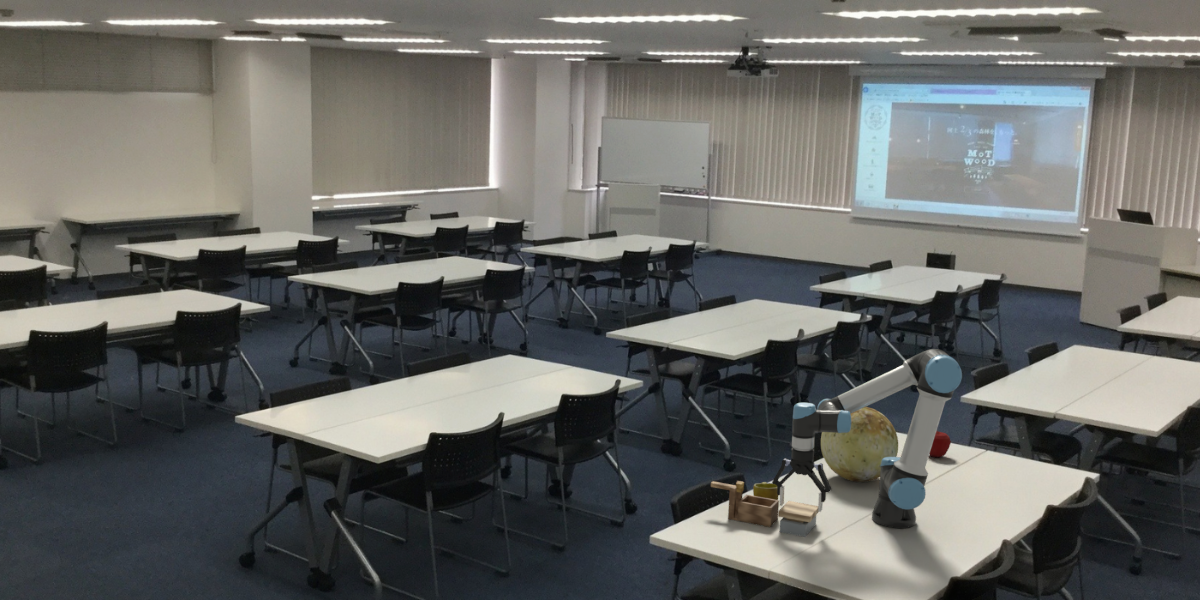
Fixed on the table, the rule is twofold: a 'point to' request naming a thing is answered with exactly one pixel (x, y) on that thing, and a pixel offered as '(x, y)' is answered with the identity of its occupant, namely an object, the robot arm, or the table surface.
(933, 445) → the apple
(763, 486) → the mug
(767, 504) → the toolbox
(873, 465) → the speckled ball
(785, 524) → the block
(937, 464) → the table surface
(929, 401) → the robot arm
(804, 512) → the lid
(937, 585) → the table surface
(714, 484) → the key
